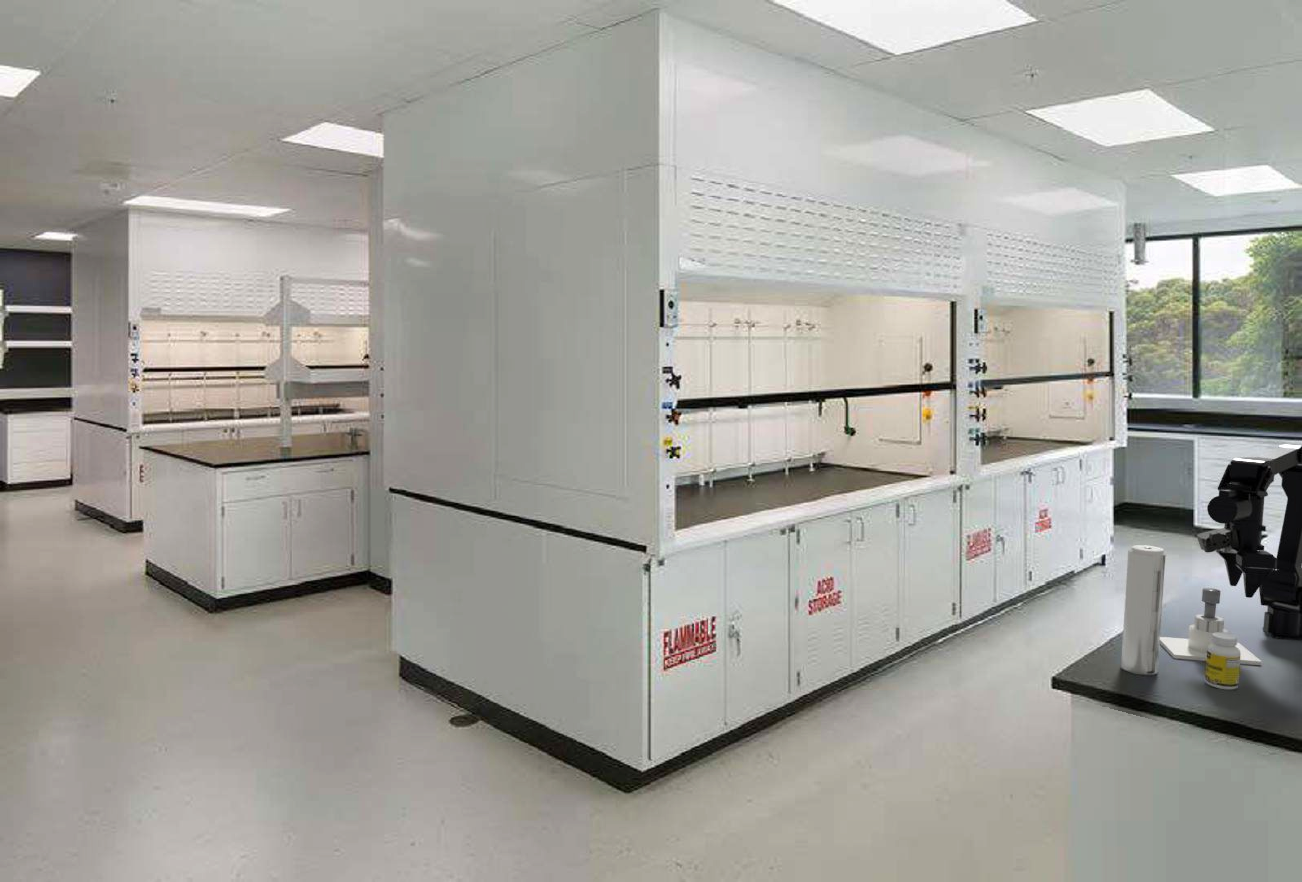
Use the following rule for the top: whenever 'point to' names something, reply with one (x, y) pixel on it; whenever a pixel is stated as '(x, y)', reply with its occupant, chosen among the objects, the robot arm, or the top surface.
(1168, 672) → the top surface
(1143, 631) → the white tall cylinder
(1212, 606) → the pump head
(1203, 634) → the white tiered cylinder
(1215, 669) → the supplement bottle
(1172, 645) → the tray
